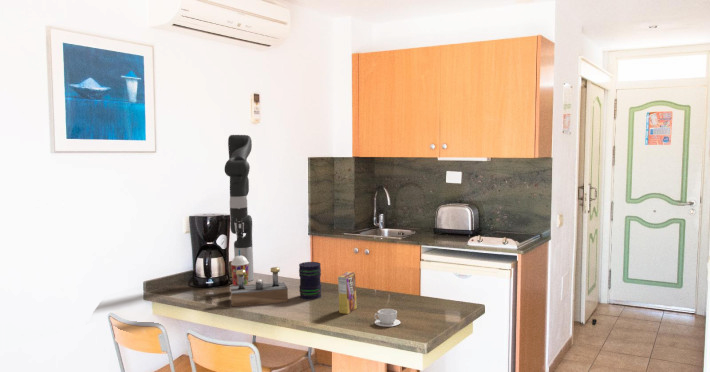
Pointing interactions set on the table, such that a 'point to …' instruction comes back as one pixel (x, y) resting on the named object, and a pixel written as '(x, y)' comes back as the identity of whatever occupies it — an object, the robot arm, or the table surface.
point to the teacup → (387, 318)
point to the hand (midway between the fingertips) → (239, 244)
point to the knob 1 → (240, 278)
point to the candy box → (347, 292)
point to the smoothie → (239, 268)
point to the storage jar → (310, 280)
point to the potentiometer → (259, 285)
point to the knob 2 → (275, 275)
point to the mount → (259, 294)
